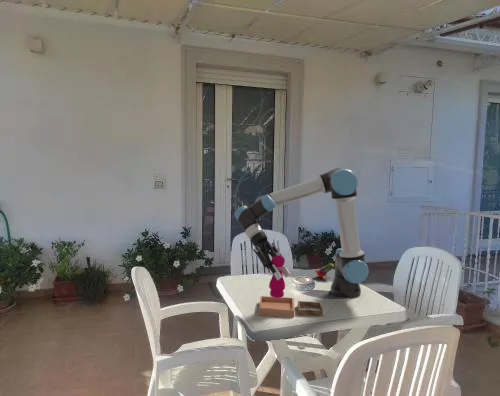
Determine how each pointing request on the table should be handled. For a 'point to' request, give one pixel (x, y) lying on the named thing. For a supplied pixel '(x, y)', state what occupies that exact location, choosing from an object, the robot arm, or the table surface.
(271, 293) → the pepper mill
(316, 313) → the small wooden tray
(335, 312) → the table surface
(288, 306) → the terracotta tray
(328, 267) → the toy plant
